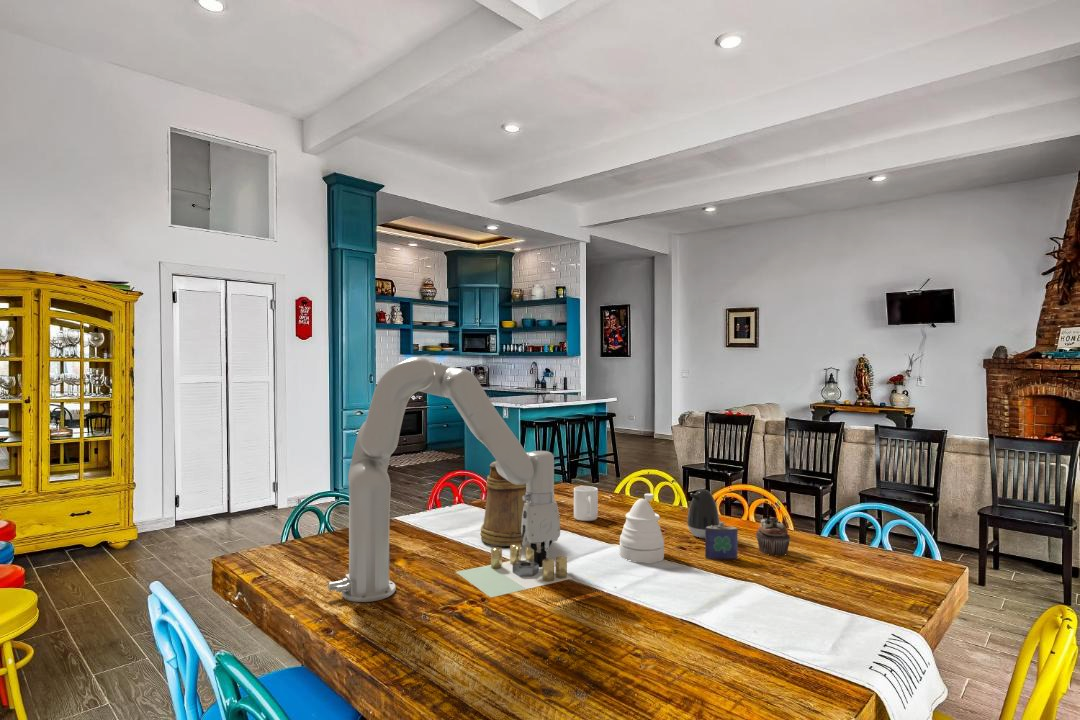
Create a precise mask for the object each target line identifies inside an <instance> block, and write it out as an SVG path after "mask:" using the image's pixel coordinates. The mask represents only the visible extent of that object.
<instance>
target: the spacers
mask: <svg viewBox="0 0 1080 720" xmlns="http://www.w3.org/2000/svg"><path fill="white" fill-rule="evenodd" d="M525 558H526V560H532V561H534V550H532V548H531V547H525ZM521 559H522V545H521V544H511V545H510V546H509V561H510V564H511V565H513V564H514V563H516V562H517V561H519V560H521ZM502 562H503V547H501V546H500V547H499V546H495V547H494V546H493V547H491V548H490V565H491V568H492V569H500V568H502ZM554 568H555V577H556V578H559V579H564V578H566V577H567V575H568V557H567V556H566V555H556V556H555V559H553V558H549V557H547V558H545V559H543V576H542V580H543V581H546V582H551V581H554Z"/></svg>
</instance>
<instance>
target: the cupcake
mask: <svg viewBox="0 0 1080 720" xmlns="http://www.w3.org/2000/svg"><path fill="white" fill-rule="evenodd" d="M760 524H761V525H759V526H758V527H759V528H758V530H756V532H755V536H756V540H757V544H758V551H759V552H760V553H761V552H762V554H763V553H764V555H766V554H769V555H768V556H771V555H784V556H786V555H787V554H788V551H789V545H790V542H791V536H790V535H789V532H788V530H787V528H786V526H784V523H783V522H781V521H779V518H777V517H776V518H775V517H773V518H771V517H770V518H769V517H763V518H762V519H761V520H760ZM785 554H786V555H785Z"/></svg>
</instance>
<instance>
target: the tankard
mask: <svg viewBox="0 0 1080 720" xmlns="http://www.w3.org/2000/svg"><path fill="white" fill-rule="evenodd" d="M489 468H490V471H489V475H487V477H486V478H487V479H486V488H487V493H486V494H487V495H486V503H485V509H484V518H483V524H482V525H481V527H480V539H481V541H482V542H483V543H486V544H489V545H493V546H498V547H499V546H500V547H502V546H503V547H510V545H511V544H521V546H523V545H522V542H523V539H522V536H521V523H522V513H523V507H524V503H526V501H523V499H522V497H523V496H525V495H526V484H524V485H514V484H512V483H511V482H509V481H508V480H506V479H505V478H503V477H502V476H500V475H499V473H498V472H497V470H496V460H495V461H492V462H491V463H490V464H489Z"/></svg>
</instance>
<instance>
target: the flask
mask: <svg viewBox="0 0 1080 720" xmlns="http://www.w3.org/2000/svg"><path fill="white" fill-rule="evenodd" d="M719 522H720V525H718V526H716V527H714V526H715V525H714V526H712V525H711V526H708V527H706V528H705V538H704V541H705V544H704V545H705V547H704V548H705V549H704V551H705V552H704V554H705V555H704V557H705V559H706V560H710V559H711V560H713V561H734V560H738V557H739V556H738V551H739V550H738V544H739V543H738V540H739V538H738V533H739V532H738V528H737V527H735V526H726V525H725V524H726V523H725V521H719Z"/></svg>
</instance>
